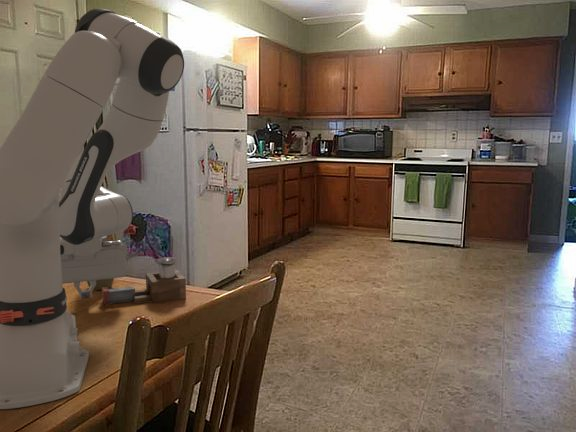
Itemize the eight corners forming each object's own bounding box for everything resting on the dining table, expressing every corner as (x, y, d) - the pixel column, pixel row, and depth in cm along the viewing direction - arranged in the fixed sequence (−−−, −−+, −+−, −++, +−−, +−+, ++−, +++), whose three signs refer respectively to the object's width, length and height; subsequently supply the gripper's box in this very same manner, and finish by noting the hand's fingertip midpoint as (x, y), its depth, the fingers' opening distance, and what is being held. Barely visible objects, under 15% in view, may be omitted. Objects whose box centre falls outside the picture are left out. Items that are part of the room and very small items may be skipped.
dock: (186, 298, 134) (185, 278, 133) (135, 305, 128) (135, 284, 127) (178, 289, 142) (177, 269, 141) (130, 294, 136) (129, 274, 135)
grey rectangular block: (135, 301, 131) (135, 288, 130) (104, 305, 128) (103, 291, 127) (133, 297, 134) (132, 284, 133) (102, 301, 131) (102, 287, 130)
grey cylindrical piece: (178, 297, 135) (178, 261, 133) (160, 300, 133) (159, 262, 131) (174, 292, 139) (174, 256, 137) (156, 294, 137) (155, 258, 135)
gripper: (125, 237, 132) (127, 288, 134) (36, 244, 123) (40, 299, 126) (128, 242, 126) (131, 296, 129) (36, 250, 118) (41, 307, 120)
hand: (85, 297), depth 127 cm, fingers closed
